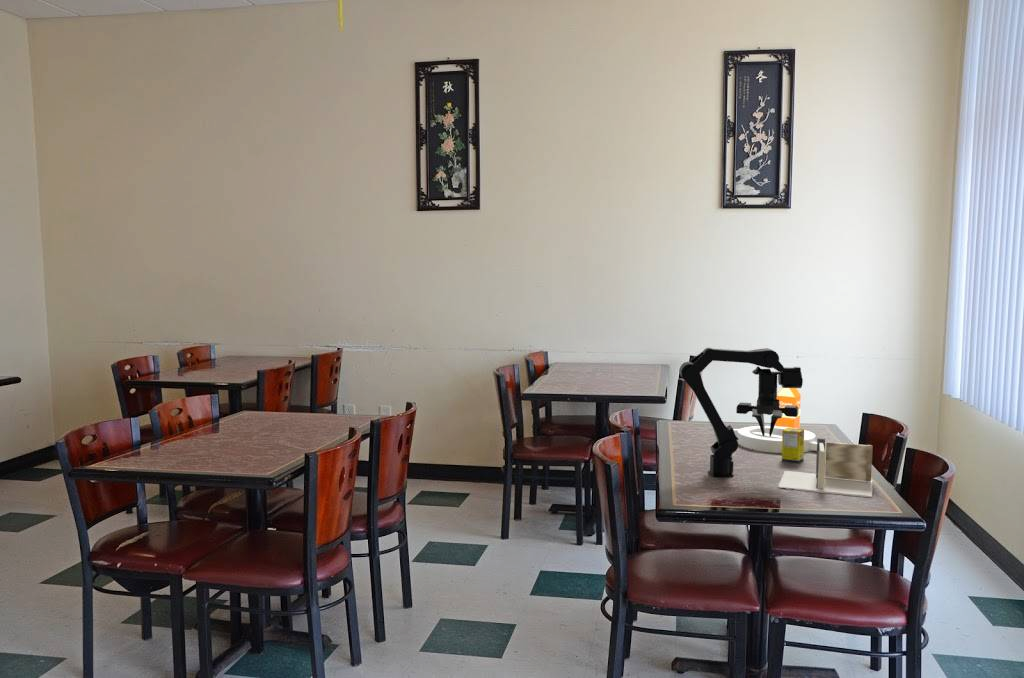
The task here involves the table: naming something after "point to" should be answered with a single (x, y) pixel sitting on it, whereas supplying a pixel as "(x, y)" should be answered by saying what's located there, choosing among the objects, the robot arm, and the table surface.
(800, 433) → the supplement box
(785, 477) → the board
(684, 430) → the table surface
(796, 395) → the orange juice
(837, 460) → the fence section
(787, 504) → the table surface
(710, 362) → the robot arm
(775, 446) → the ring with crossbar
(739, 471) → the table surface
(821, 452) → the pale green flat panel
